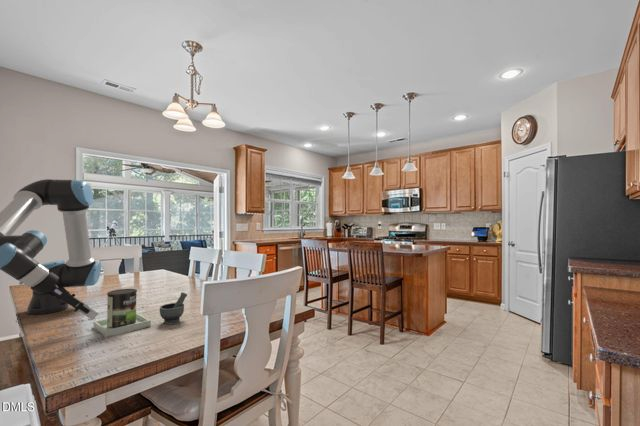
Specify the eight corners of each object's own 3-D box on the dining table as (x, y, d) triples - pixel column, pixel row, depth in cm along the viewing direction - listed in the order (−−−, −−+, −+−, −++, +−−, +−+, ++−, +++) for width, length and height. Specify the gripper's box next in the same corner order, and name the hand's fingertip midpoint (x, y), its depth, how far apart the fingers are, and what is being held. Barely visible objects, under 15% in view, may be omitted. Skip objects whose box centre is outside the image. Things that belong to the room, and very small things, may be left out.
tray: (93, 327, 126) (93, 321, 126) (136, 318, 138) (136, 312, 138) (104, 337, 115) (105, 331, 115) (150, 326, 127) (150, 320, 127)
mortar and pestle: (163, 327, 126) (163, 298, 126) (156, 321, 133) (156, 294, 133) (190, 321, 134) (191, 293, 134) (183, 316, 141) (183, 289, 141)
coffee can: (142, 322, 131) (142, 289, 131) (122, 331, 121) (122, 295, 121) (121, 320, 133) (122, 287, 133) (100, 329, 123) (100, 293, 123)
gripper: (24, 282, 114) (74, 314, 125) (34, 294, 98) (90, 329, 109) (44, 266, 118) (90, 298, 129) (56, 275, 102) (108, 311, 113)
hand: (90, 312), depth 119 cm, fingers open, 13 cm apart
